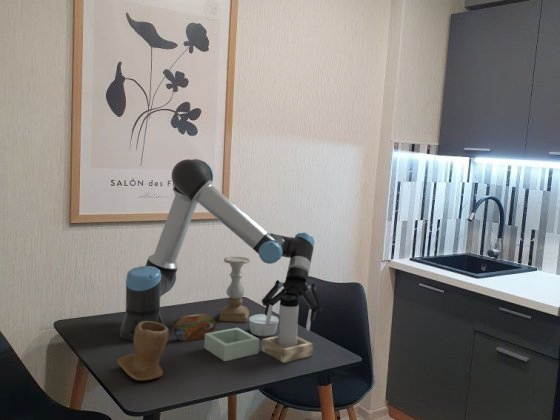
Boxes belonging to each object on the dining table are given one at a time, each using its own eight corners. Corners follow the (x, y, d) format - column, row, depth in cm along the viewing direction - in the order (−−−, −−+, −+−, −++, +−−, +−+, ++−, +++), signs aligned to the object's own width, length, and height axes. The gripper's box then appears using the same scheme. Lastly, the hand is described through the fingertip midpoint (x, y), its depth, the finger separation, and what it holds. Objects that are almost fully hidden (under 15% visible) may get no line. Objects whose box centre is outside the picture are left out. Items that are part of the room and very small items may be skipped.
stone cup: (173, 378, 149) (175, 327, 147) (133, 386, 142) (134, 333, 140) (154, 360, 161) (155, 313, 160) (116, 367, 154) (117, 318, 153)
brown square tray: (283, 362, 163) (284, 350, 163) (261, 350, 173) (262, 339, 173) (312, 355, 171) (313, 343, 170) (290, 344, 180) (290, 333, 180)
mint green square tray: (224, 361, 162) (224, 345, 162) (204, 348, 173) (204, 333, 172) (258, 353, 170) (258, 338, 170) (237, 341, 181) (237, 327, 180)
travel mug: (298, 351, 174) (301, 293, 172) (293, 358, 168) (295, 297, 166) (281, 348, 176) (284, 290, 174) (274, 354, 170) (277, 295, 168)
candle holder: (222, 313, 213) (224, 255, 211) (249, 314, 213) (251, 257, 210) (218, 321, 202) (221, 261, 200) (246, 322, 202) (249, 262, 199)
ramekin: (254, 339, 184) (255, 324, 184) (243, 329, 194) (244, 315, 194) (283, 335, 189) (283, 321, 188) (271, 326, 199) (271, 313, 198)
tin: (174, 342, 177) (174, 318, 176) (171, 339, 180) (172, 315, 179) (215, 337, 184) (216, 314, 183) (212, 334, 187) (213, 311, 186)
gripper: (333, 281, 182) (325, 336, 169) (265, 274, 187) (252, 327, 174) (332, 269, 176) (324, 325, 163) (262, 263, 182) (248, 316, 169)
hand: (287, 326), depth 169 cm, fingers open, 13 cm apart
